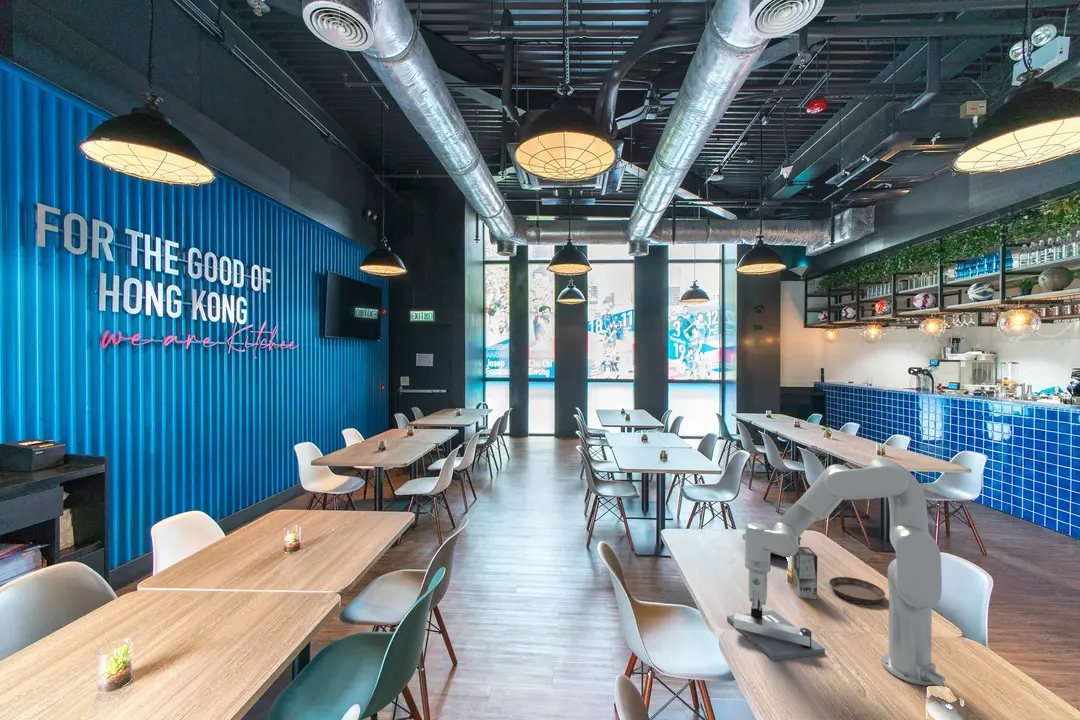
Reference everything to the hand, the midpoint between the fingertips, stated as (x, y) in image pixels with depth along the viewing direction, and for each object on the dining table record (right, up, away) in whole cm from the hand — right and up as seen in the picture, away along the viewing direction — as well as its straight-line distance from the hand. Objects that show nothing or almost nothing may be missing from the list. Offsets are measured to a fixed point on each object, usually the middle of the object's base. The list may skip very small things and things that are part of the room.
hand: (756, 620), depth 151 cm
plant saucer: (+50, -5, +26) cm, 57 cm away
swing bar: (+2, -2, -5) cm, 6 cm away
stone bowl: (+37, -5, +65) cm, 75 cm away
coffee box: (+31, -5, +27) cm, 41 cm away
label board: (+4, -4, -2) cm, 6 cm away
